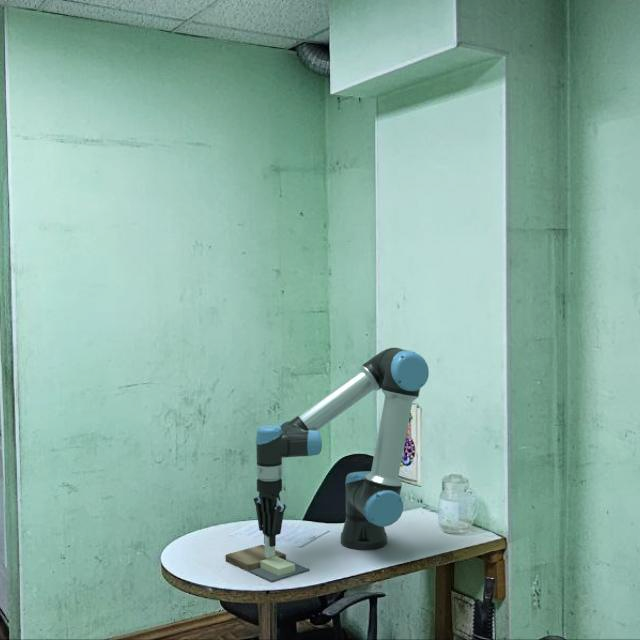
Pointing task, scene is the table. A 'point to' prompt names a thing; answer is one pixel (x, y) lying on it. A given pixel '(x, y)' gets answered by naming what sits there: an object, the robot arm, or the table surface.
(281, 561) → the tile
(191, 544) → the table surface
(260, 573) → the mat
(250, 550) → the wooden board
